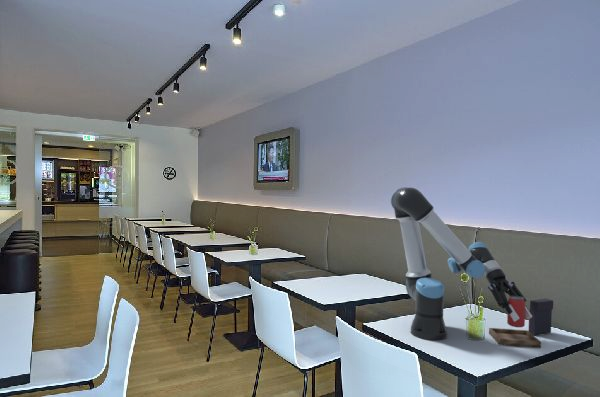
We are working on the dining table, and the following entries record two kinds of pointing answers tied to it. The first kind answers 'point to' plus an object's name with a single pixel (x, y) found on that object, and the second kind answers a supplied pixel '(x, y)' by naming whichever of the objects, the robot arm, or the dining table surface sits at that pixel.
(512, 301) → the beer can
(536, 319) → the dark grey upright block
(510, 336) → the walnut tray
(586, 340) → the dining table surface
